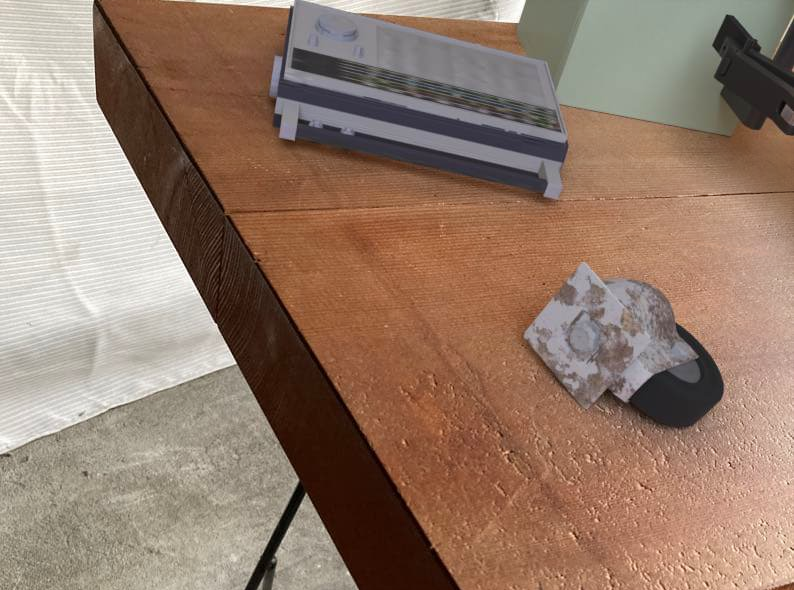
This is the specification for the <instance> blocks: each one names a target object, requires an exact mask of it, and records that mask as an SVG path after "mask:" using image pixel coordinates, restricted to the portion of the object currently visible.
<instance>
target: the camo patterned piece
mask: <svg viewBox="0 0 794 590" xmlns="http://www.w3.org/2000/svg"><path fill="white" fill-rule="evenodd" d="M523 338H524V339H525V341H526V342H527V343H528V344H529V346H530V347H531V348H532V349H533V351H534V352H535V353H536V354H537V355H538V356H539V358H540V359H541V360H542V361H543V362H544V363H545V365H546V366H547V367H548V368H549V369H550V371H551V372H552V374H554V376H555V377H556V378H557V379H558V380H559V381H560V383H561V384H562V385H563V387H564V388H565V389H566V390H567V391H568V393H569V394H570V395H571V396H572V397H573V398H574V400H575V401H576V402H577V404H578V405H579V406H580V407H581V409H584V410H588V409H589V408H590V407H591V406H592V405H593V404H594V403H595V402H596V401H597V400H598V398H599V397H601V395H602V394H603V393H605V391H606V390H607V389H608V390H609V391H610V392H611V393H612V394H613V395H614V396H616V397H617V398H619V399H620V401H622V402H624V403H625V404H628V403H631V404H632V405H633V406H634V407H636V409H638V410H639V411H641V412H642V413H644V414H645V415H647V417H650V418H651V419H653V420H655V421H656V422H658V423H661V424H664V425H666V426H669V427H673V428H682V429H683V428H691V427H692V426H695V425H696V424H697V423H698V422H699V421H700V420H701V419H702V418H703V417H705V416H706V415H707V414H708V413H709V412H710V411H711V410H712V409H713V408H715V406H716V405H718V403H720V401H721V400H722V399H723V396H724V393H725V383H724V380H723V376H722V373H721V371H720V369H719V367H718V365H717V363H716V361H715V360H714V358H713V357H712V355H711V354H710V353H709V351H708V350H707V349H706V347H704V346H703V344H702V343H701V342H700V341H699V340H698V339H697V338H696V337H695V336H693V334H691V333H690V332H689V331H688V330H687V329H686V328H684V327H683V326H682V325H681V324H680V323H677V322H676V318H675V312H674V309H673V307H672V303H671V302H670V300H669V298H668V297H667V296H666V295H665V293H663V292H662V291H661V290H660V289H658V288H657V287H655V286H653V285H652V284H650V283H647V282H645V281H642V280H638V279H635V278H634V279H633V278H627V277H626V278H624V277H613V278H604V279H601V278H600V277H599V276H598V275H597V273H596V272H595V271H594V270H593V269H592V267H590V265H589V264H588V263H586V262H584V261H581V262H580V263H579V265H578V266H577V267H576V269H575V270H574V271H573V272H572V273H571V275H570V276H569V277H568V278H567V280H565V282H564V283H563V284H562V286H560V288H559V289H558V290H557V292H556V293H555V294H554V295H553V296H552V298H551V299H550V300H549V302H548V303H546V305H545V306H544V307H543V309H542V310H541V311H540V313H539V314H538V315H537V316H536V317H535V319H534V320H533V321H532V322H531V323H530V325H529V326H528V327H527V328H526V330H525V331H524V334H523Z"/></svg>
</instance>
